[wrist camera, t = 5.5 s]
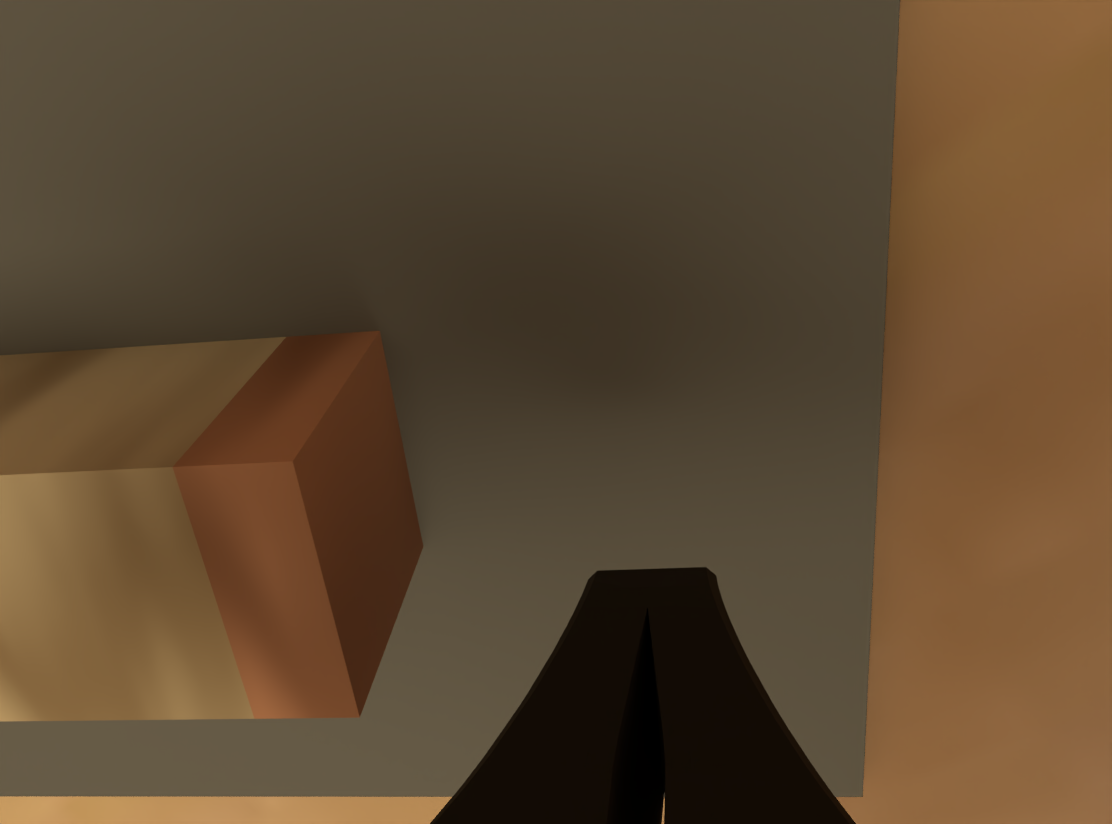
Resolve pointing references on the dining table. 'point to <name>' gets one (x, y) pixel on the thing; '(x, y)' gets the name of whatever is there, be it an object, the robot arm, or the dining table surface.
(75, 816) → the dining table surface
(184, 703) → the maple block
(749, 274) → the rubber mat
